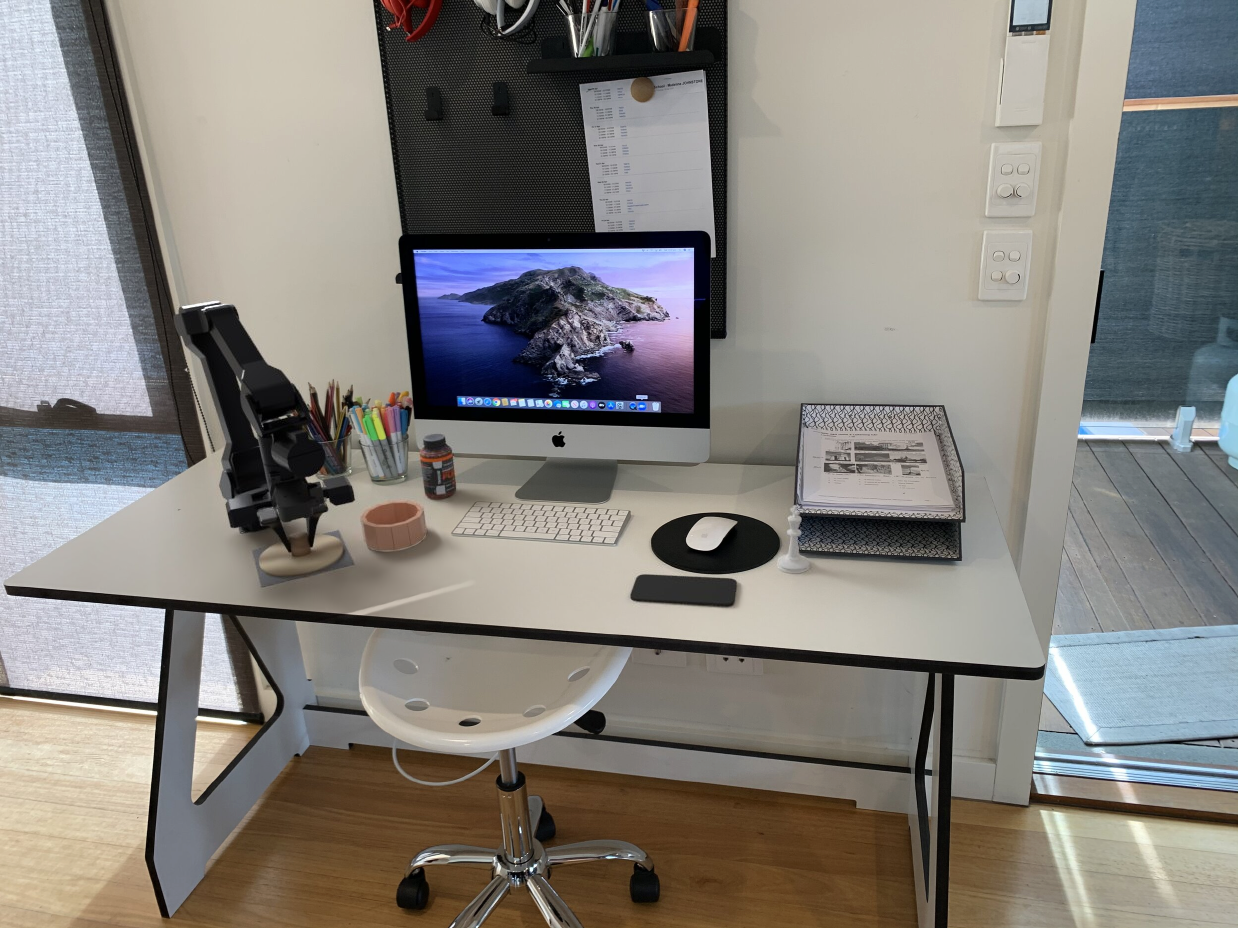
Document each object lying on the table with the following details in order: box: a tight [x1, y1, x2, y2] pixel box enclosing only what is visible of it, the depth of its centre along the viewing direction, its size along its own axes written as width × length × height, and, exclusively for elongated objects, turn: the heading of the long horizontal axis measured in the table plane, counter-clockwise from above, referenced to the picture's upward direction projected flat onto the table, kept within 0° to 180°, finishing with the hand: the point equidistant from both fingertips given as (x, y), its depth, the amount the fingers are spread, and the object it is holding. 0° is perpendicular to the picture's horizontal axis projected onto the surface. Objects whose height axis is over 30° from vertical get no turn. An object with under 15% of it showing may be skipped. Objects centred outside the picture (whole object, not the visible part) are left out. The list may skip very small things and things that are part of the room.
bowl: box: [359, 500, 428, 553], centre depth 149 cm, size 10×10×5 cm
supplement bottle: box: [419, 433, 457, 500], centre depth 165 cm, size 6×6×11 cm
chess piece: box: [776, 504, 811, 574], centre depth 134 cm, size 5×5×10 cm
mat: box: [251, 529, 355, 588], centre depth 145 cm, size 14×14×1 cm
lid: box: [259, 531, 344, 577], centre depth 144 cm, size 13×13×4 cm
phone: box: [629, 573, 738, 608], centre depth 131 cm, size 7×1×15 cm
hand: (300, 549), depth 144 cm, fingers closed on lid, 3 cm apart
